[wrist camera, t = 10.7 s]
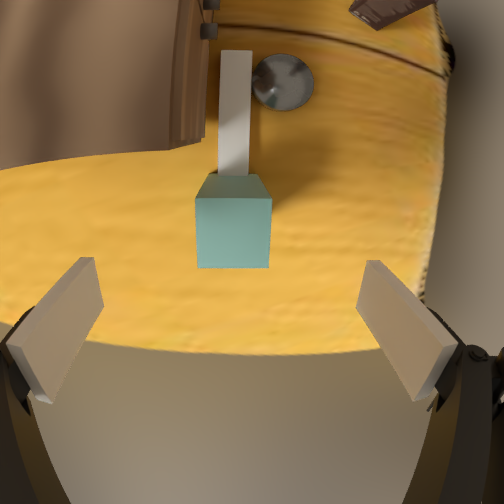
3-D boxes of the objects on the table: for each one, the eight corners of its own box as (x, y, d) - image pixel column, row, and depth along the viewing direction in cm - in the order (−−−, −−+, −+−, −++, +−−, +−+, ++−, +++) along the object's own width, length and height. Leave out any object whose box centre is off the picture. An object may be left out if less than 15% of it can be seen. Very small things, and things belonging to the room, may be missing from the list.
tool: (209, 219, 31) (197, 268, 20) (212, 54, 24) (200, 10, 13) (255, 219, 32) (268, 268, 21) (260, 55, 25) (278, 12, 14)
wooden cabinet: (84, 148, 27) (-33, 178, 10) (96, 7, 20) (11, -53, 3) (219, 140, 28) (200, 149, 12) (228, -9, 21) (228, -115, 5)
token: (253, 113, 27) (255, 111, 25) (248, 59, 25) (250, 54, 23) (309, 110, 28) (316, 109, 26) (305, 59, 25) (310, 54, 23)
